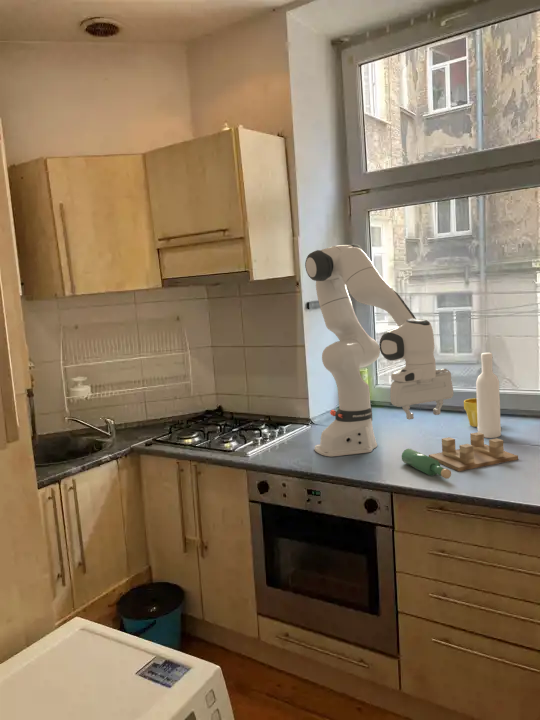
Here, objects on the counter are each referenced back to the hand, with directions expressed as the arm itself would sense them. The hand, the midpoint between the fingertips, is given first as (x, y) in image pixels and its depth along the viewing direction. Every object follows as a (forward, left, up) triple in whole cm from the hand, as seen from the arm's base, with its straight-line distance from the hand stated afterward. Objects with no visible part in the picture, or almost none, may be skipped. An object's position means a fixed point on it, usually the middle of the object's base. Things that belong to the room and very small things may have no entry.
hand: (423, 416), depth 189 cm
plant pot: (+46, +35, -17) cm, 60 cm away
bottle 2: (+40, +21, -17) cm, 48 cm away
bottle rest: (+18, +1, -17) cm, 25 cm away
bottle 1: (0, -2, -17) cm, 17 cm away
